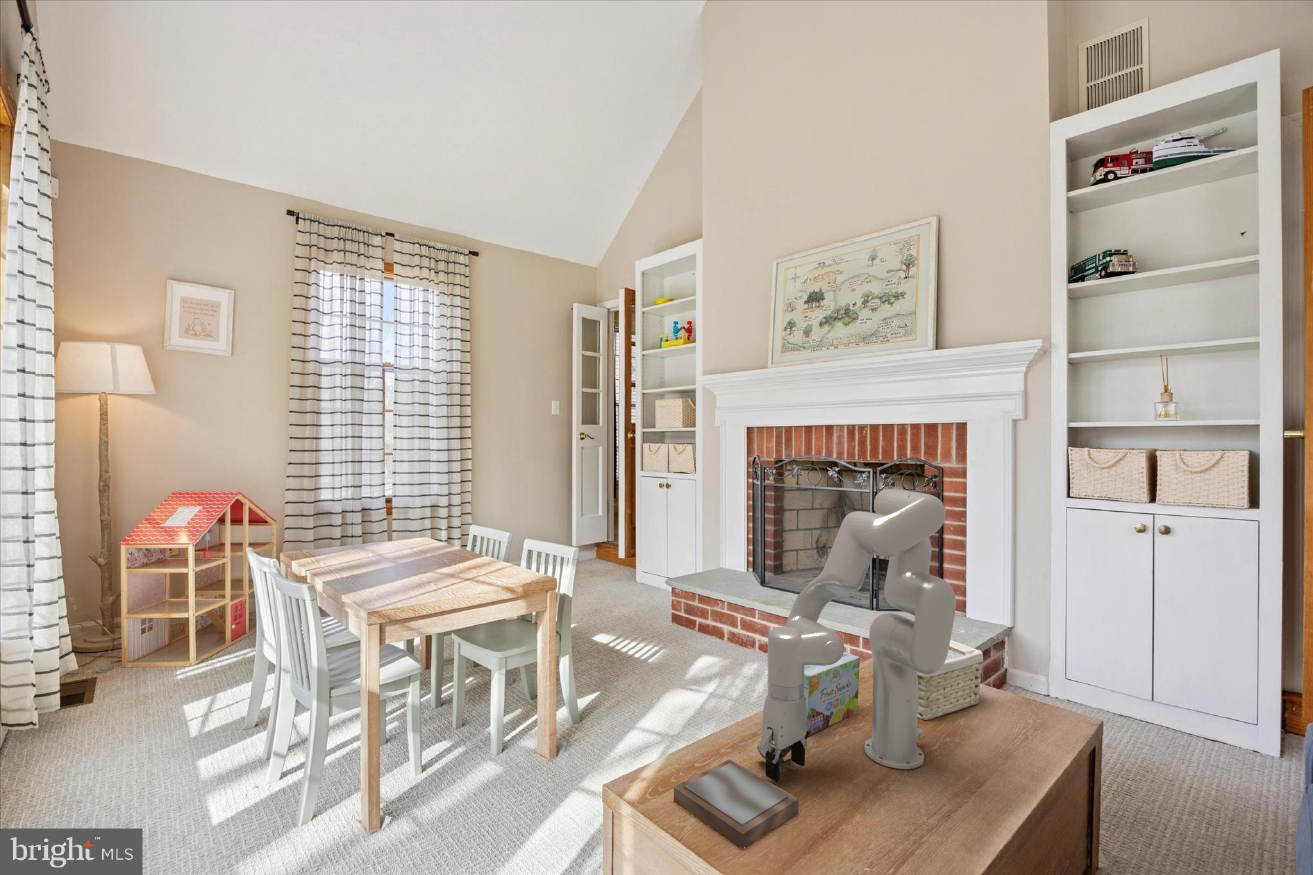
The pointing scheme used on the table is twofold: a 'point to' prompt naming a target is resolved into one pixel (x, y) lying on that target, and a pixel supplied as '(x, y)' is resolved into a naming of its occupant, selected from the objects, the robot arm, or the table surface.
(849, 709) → the snack box
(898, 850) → the table surface
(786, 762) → the eagle figurine
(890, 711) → the robot arm
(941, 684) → the storage basket
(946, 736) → the table surface
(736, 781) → the picture frame
